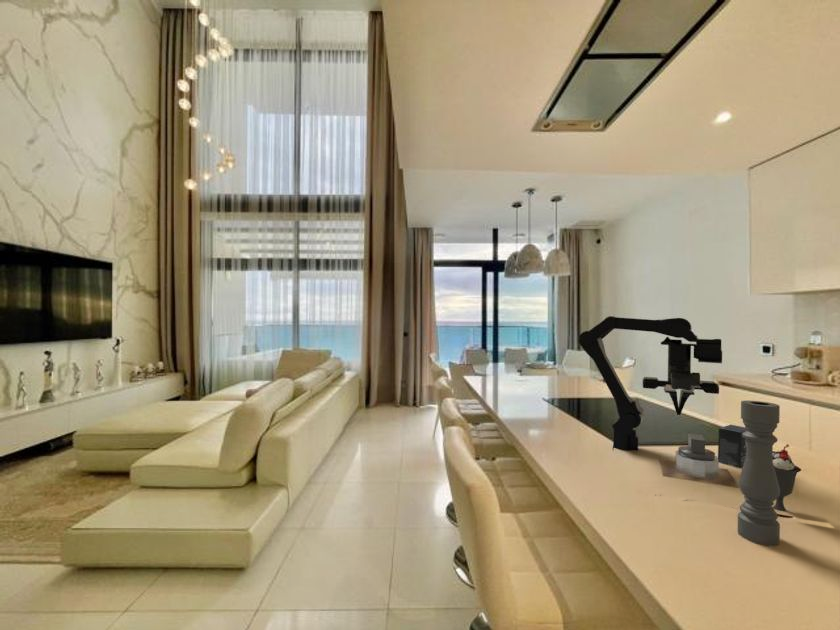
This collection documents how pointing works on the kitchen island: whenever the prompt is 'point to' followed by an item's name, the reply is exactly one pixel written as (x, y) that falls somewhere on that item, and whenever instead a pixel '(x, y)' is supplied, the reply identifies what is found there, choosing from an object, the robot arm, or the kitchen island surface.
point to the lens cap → (696, 448)
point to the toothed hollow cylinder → (697, 467)
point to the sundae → (784, 477)
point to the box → (732, 445)
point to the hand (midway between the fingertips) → (678, 414)
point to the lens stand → (723, 478)
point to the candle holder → (759, 474)
